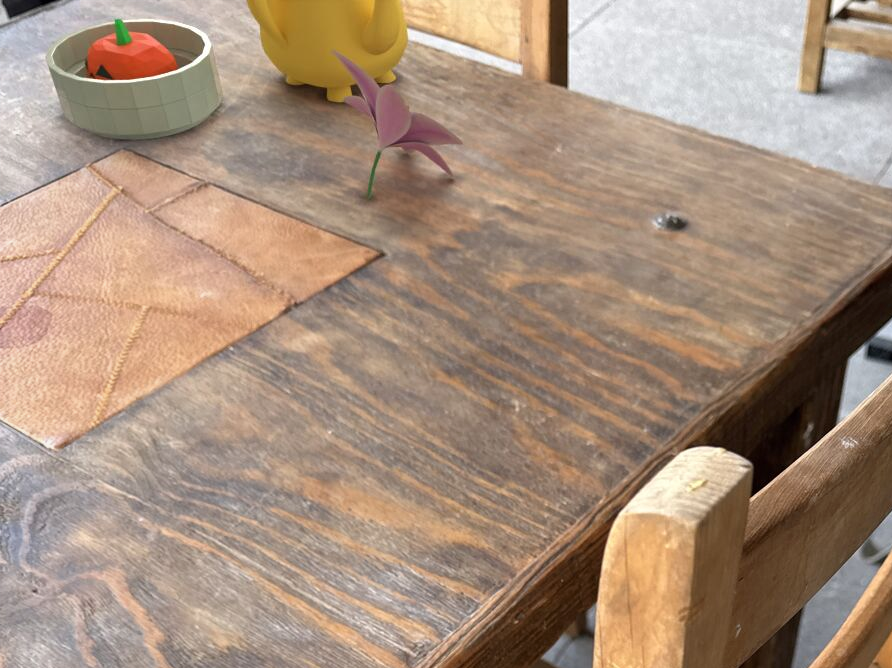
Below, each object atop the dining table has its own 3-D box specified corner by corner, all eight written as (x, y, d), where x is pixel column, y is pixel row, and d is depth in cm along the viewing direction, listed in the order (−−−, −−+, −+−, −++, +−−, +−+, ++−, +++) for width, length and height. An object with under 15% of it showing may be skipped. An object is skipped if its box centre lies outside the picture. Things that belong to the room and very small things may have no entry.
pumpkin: (166, 122, 103) (145, 41, 98) (84, 112, 104) (59, 31, 99) (200, 90, 108) (182, 11, 103) (121, 80, 109) (99, 1, 104)
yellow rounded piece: (266, 116, 107) (236, -36, 97) (272, 54, 115) (245, -91, 106) (417, 110, 108) (402, -40, 98) (412, 49, 116) (398, -95, 107)
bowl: (51, 146, 102) (30, 84, 98) (81, 79, 111) (63, 20, 107) (214, 143, 103) (200, 81, 99) (232, 77, 111) (219, 18, 108)
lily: (470, 227, 97) (494, 98, 93) (333, 189, 91) (352, 49, 87) (424, 212, 106) (444, 93, 102) (296, 176, 100) (312, 49, 96)
